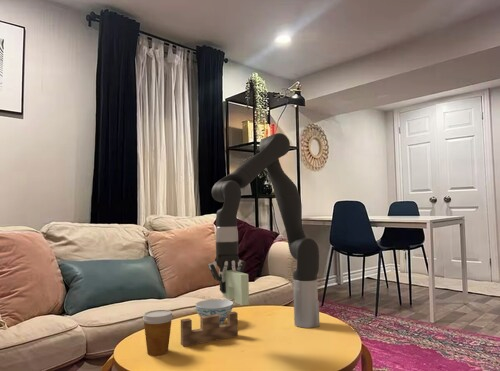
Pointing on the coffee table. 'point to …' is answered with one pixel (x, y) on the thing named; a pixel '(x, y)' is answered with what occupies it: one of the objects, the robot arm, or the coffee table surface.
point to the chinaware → (214, 308)
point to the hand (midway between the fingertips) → (227, 292)
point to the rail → (209, 329)
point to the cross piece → (237, 287)
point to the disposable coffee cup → (157, 331)
